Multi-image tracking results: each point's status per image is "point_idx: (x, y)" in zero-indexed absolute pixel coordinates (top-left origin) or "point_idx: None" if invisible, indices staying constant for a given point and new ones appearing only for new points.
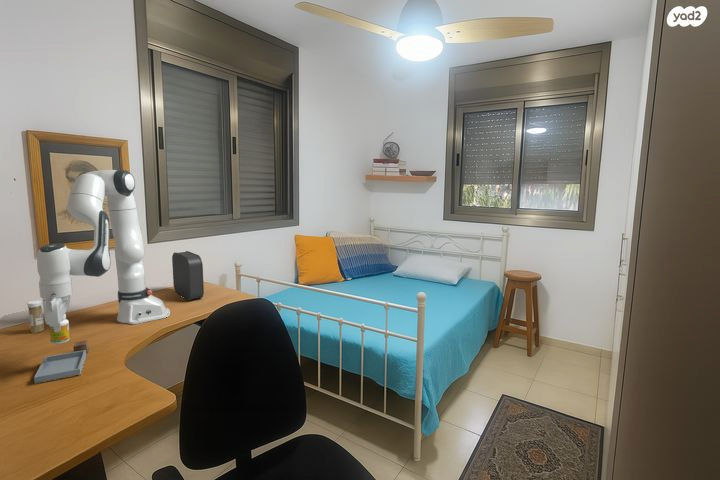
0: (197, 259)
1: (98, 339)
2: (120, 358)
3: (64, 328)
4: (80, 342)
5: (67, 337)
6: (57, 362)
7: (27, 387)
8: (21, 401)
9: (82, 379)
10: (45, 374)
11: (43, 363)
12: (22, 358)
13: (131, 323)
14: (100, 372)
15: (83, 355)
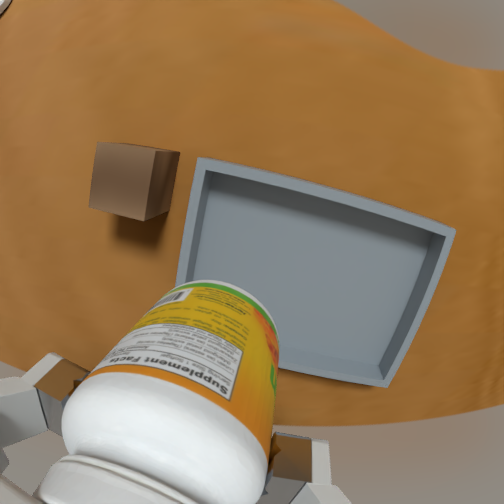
0: None
1: (47, 104)
2: (366, 29)
3: (263, 406)
4: (108, 180)
5: (254, 314)
6: None
7: None
8: (463, 390)
9: (478, 222)
10: (331, 341)
11: None
12: (94, 364)
13: (4, 6)
14: (466, 146)
15: (281, 180)
